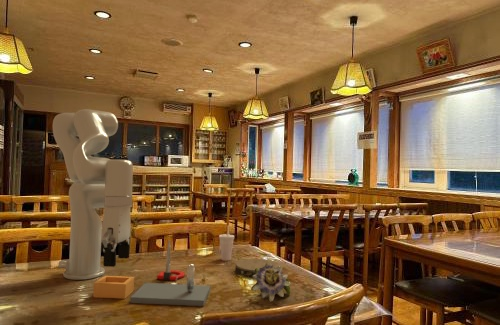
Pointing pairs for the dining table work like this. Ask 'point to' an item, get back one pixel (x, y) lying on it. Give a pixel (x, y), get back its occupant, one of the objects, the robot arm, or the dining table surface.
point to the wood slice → (252, 266)
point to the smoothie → (226, 245)
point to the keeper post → (190, 277)
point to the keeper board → (171, 294)
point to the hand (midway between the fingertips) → (116, 262)
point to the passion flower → (270, 281)
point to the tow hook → (167, 273)
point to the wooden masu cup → (114, 287)
